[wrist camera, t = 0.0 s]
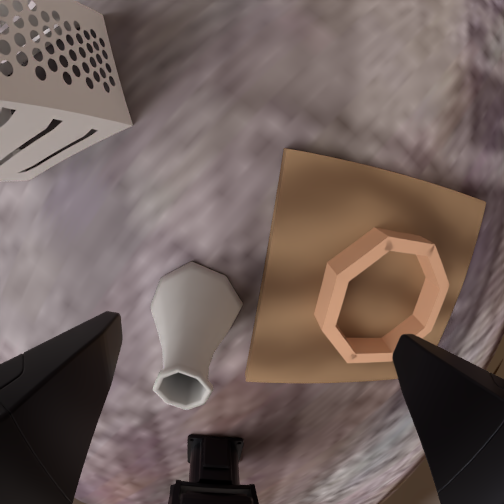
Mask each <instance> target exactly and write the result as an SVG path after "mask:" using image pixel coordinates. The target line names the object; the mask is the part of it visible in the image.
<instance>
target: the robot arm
mask: <svg viewBox="0 0 504 504" xmlns="http://www.w3.org/2000/svg"><path fill="white" fill-rule="evenodd" d="M121 345H122V326H121V316H120V314H119V313H115V312H109V311H106V312H104V313H102V314H100V315H98V316H96V317H94V318H92V319H90V320H88V321H86V322H84V323H82V324H80V325H78V326H76V327H74V328H72V329H70V330H68V331H66V332H64V333H62V334H60V335H58V336H56V337H54V338H52V339H50V340H48V341H46V342H44V343H42V344H40V345H38V346H36V347H34V348H32V349H30V350H28V351H26V352H24V353H23V354H20V355H18V356H16V357H14V358H12V359H10V360H8V361H6V362H4V363H2V364H0V504H72V503H73V500H74V496H75V492H76V489H77V485H78V482H79V478H80V475H81V472H82V468H83V465H84V462H85V459H86V455H87V452H88V449H89V446H90V443H91V440H92V437H93V434H94V431H95V428H96V425H97V422H98V420H99V417H100V414H101V411H102V408H103V406H104V403H105V400H106V398H107V395H108V392H109V389H110V387H111V383H112V380H113V376H114V372H115V368H116V364H117V360H118V356H119V352H120V348H121ZM392 360H393V363H394V366H395V370H396V373H397V376H398V380H399V383H400V387H401V390H402V393H403V396H404V399H405V401H406V404H407V406H408V409H409V412H410V414H411V417H412V419H413V422H414V425H415V427H416V430H417V433H418V436H419V438H420V441H421V444H422V447H423V450H424V452H425V455H426V458H427V461H428V464H429V467H430V470H431V473H432V476H433V480H434V483H435V486H436V489H437V492H438V496H439V500H440V503H441V504H504V379H502V378H500V377H498V376H496V375H494V374H492V373H489V372H488V371H486V370H484V369H482V368H480V367H478V366H476V365H474V364H472V363H470V362H468V361H466V360H464V359H462V358H460V357H458V356H456V355H454V354H452V353H450V352H448V351H446V350H444V349H442V348H440V347H438V346H436V345H434V344H432V343H430V342H428V341H426V340H424V339H422V338H420V337H418V336H416V335H414V334H403V335H401V336H400V338H399V340H398V343H397V345H396V347H395V350H394V352H393V355H392ZM243 444H244V442H243V439H240V438H222V437H208V436H197V435H189V436H188V462H189V463H190V472H189V482H186V481H181V480H176V484H174V485H171V487H170V497H169V502H168V504H259V503H258V498H257V494H256V489H255V485H254V484H249V485H240V482H239V467H238V464H239V460H240V456H241V452H242V448H243Z"/></svg>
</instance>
